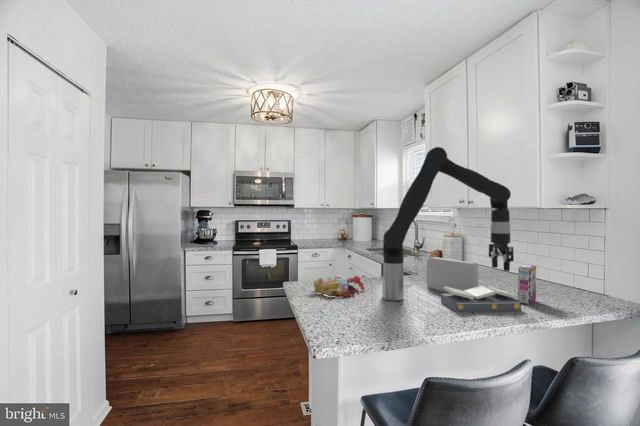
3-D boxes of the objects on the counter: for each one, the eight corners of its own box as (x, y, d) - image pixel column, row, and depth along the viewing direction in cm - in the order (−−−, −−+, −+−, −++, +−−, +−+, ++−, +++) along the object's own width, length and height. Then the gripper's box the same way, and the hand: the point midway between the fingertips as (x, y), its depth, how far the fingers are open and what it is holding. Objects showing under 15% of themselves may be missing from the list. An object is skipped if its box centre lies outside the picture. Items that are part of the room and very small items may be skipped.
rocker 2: (476, 299, 134) (476, 296, 134) (464, 293, 145) (463, 290, 145) (495, 294, 134) (494, 291, 134) (481, 288, 145) (481, 285, 145)
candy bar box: (530, 305, 141) (530, 268, 141) (517, 303, 145) (517, 267, 145) (536, 300, 149) (536, 265, 149) (524, 298, 152) (524, 264, 152)
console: (455, 311, 132) (455, 299, 132) (440, 302, 146) (440, 291, 146) (521, 311, 133) (521, 298, 133) (500, 301, 147) (500, 290, 147)
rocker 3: (498, 293, 135) (499, 291, 135) (484, 288, 145) (485, 285, 145) (517, 298, 135) (517, 296, 135) (501, 292, 145) (502, 290, 145)
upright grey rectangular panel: (480, 296, 156) (480, 262, 156) (472, 298, 153) (472, 263, 153) (434, 286, 179) (434, 256, 179) (426, 287, 175) (426, 257, 175)
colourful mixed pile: (348, 302, 148) (347, 282, 148) (305, 296, 160) (305, 277, 160) (368, 291, 169) (368, 274, 169) (330, 286, 181) (330, 270, 181)
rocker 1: (454, 294, 134) (455, 291, 134) (443, 288, 144) (444, 286, 144) (473, 299, 134) (474, 296, 134) (461, 293, 145) (462, 290, 145)
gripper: (483, 231, 147) (483, 266, 147) (501, 233, 133) (502, 272, 133) (498, 231, 147) (499, 266, 147) (519, 233, 133) (519, 272, 133)
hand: (500, 269), depth 140 cm, fingers open, 8 cm apart
